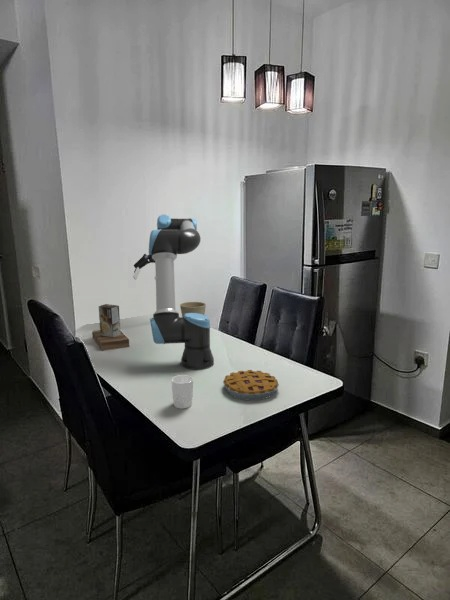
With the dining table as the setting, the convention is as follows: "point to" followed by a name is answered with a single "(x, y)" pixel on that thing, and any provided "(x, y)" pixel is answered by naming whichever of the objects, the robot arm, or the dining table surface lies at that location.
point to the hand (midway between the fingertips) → (145, 278)
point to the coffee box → (109, 320)
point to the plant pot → (192, 308)
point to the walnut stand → (110, 341)
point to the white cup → (182, 391)
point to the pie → (250, 384)
